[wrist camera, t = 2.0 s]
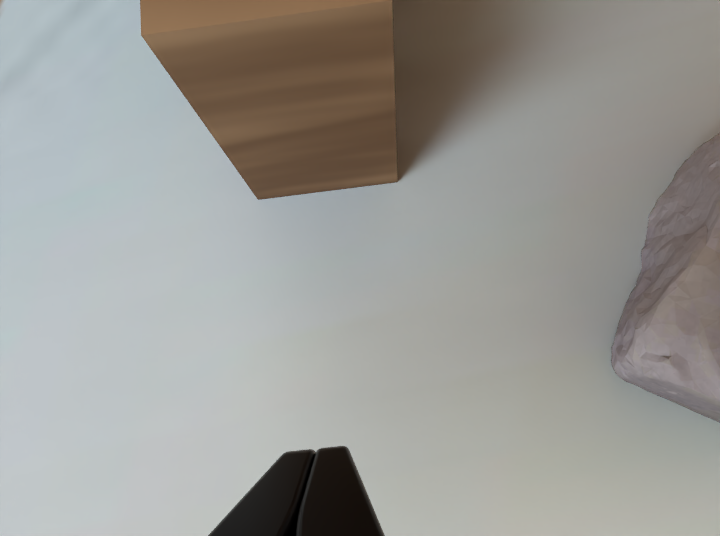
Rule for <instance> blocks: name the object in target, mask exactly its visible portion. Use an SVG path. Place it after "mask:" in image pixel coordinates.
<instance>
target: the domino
mask: <svg viewBox="0 0 720 536" xmlns="http://www.w3.org/2000/svg"><path fill="white" fill-rule="evenodd" d="M140 9H141V36H142V37H143V38H144V40H145V41H146V43H147V44H148V45H149V47H150V48H151V50H152V51H153V52H154V54H155V55H156V57H157V58H158V59H159V61H160V62H161V64H162V65H163V67H164V68H165V69H166V71H167V72H168V74H169V75H170V76H171V78H172V79H173V81H174V82H175V83H176V85H177V86H178V88H179V89H180V90H181V92H182V93H183V95H184V96H185V97H186V99H187V100H188V102H189V103H190V105H191V106H192V107H193V109H194V110H195V112H196V113H197V114H198V116H199V117H200V119H201V120H202V121H203V123H204V124H205V126H206V127H207V128H208V130H209V131H210V133H211V134H212V136H213V137H214V138H215V140H216V141H217V143H218V144H219V145H220V147H221V148H222V150H223V151H224V152H225V154H226V155H227V157H228V158H229V159H230V161H231V162H232V164H233V165H234V166H235V168H236V169H237V171H238V172H239V174H240V175H241V176H242V178H243V179H244V181H245V182H246V183H247V185H248V186H249V188H250V189H251V190H252V192H253V193H254V195H255V196H256V197H257V199H258V200H259V199H267V198H275V197H283V196H291V195H299V194H307V193H315V192H323V191H330V190H338V189H346V188H354V187H362V186H370V185H378V184H386V183H394V182H398V178H397V144H396V110H395V76H394V41H393V7H392V0H140Z"/></svg>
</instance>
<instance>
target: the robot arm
mask: <svg viewBox="0 0 720 536" xmlns="http://www.w3.org/2000/svg"><path fill="white" fill-rule="evenodd" d="M208 536H385V535H384V533H383V531H382V528H381V526H380V523H379V521H378V519H377V516H376V514H375V511H374V509H373V507H372V504H371V502H370V499H369V497H368V495H367V492H366V490H365V487H364V485H363V483H362V480H361V478H360V475H359V473H358V470H357V468H356V466H355V463H354V461H353V458H352V456H351V454H350V451H349V449H348V448H347V447H345V446H338V447H328V448H321V449H319V450H317V452H315V451H314V450H312V449H309V450H299V451H289V452H286V453H284V454H283V455H282V456H281V457H280V458H279V459H278V460H277V461H276V462H275V463H274V464H273V465H272V466H271V468H270V469H269V470H268V471H267V472H266V473H265V474H264V475H263V476H262V477H261V478H260V480H259V481H258V482H257V483H256V484H255V485H254V486H253V487H252V488H251V489H250V490H249V492H248V493H247V494H246V495H245V496H244V497H243V498H242V499H241V500H240V501H239V503H238V504H237V505H236V506H235V507H234V508H233V509H232V510H231V511H230V512H229V513H228V515H227V516H226V517H225V518H224V519H223V520H222V521H221V522H220V523H219V524H218V526H217V527H216V528H215V529H214V530H213V531H212V532H211V533H210V534H209V535H208Z"/></svg>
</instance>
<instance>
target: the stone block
mask: <svg viewBox="0 0 720 536" xmlns="http://www.w3.org/2000/svg"><path fill="white" fill-rule="evenodd" d="M641 261H642V270H641V272H640V275H639V277H638V279H637V283H636V286H635V288H634V289H633V291H632V292H631V294H630V296H629V300H628V301H627V302H626V305H625V308H624V311H623V314H622V316H621V319H620V321H619V325H618V329H617V332H616V335H615V340H614V343H613V345H612V358H611V363H612V367H613V369H614V371H615V373H616V374H617V375H618V376H619V377H620V378H622V379H623V380H625V381H626V382H629V383H631V384H634V385H637V386H639V387H641V388H643V389H645V390H647V391H649V392H651V393H653V394H656V395H658V396H661V397H663V398H665V399H668V400H670V401H672V402H675V403H677V404H679V405H682V406H684V407H686V408H688V409H690V410H693V411H695V412H697V413H699V414H701V415H704V416H706V417H708V418H711V419H713V420H716V421H718V422H720V133H719V134H718V135H716V136H714V137H713V138H712V139H711V140H709V141H707V142H705V143H704V144H702V145H701V146H700V147H699V148H698V149H697V150H696V151H695V152H694V153H693V154H692V155H691V156H690V158H689V159H688V160H686V161H685V162H684V163H683V165H682V166H681V167H680V168H679V170H678V171H677V172H676V174H675V176H674V179H673V181H672V182H671V183H670V185H669V186H668V188H667V189H666V190H665V192H664V193H663V194H662V195H661V196H660V197H659V199H658V200H657V202H656V205H655V207H654V208H653V210H652V211H651V213H650V214H649V222H648V227H647V235H646V240H645V246H644V248H643V249H642V251H641Z"/></svg>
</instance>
